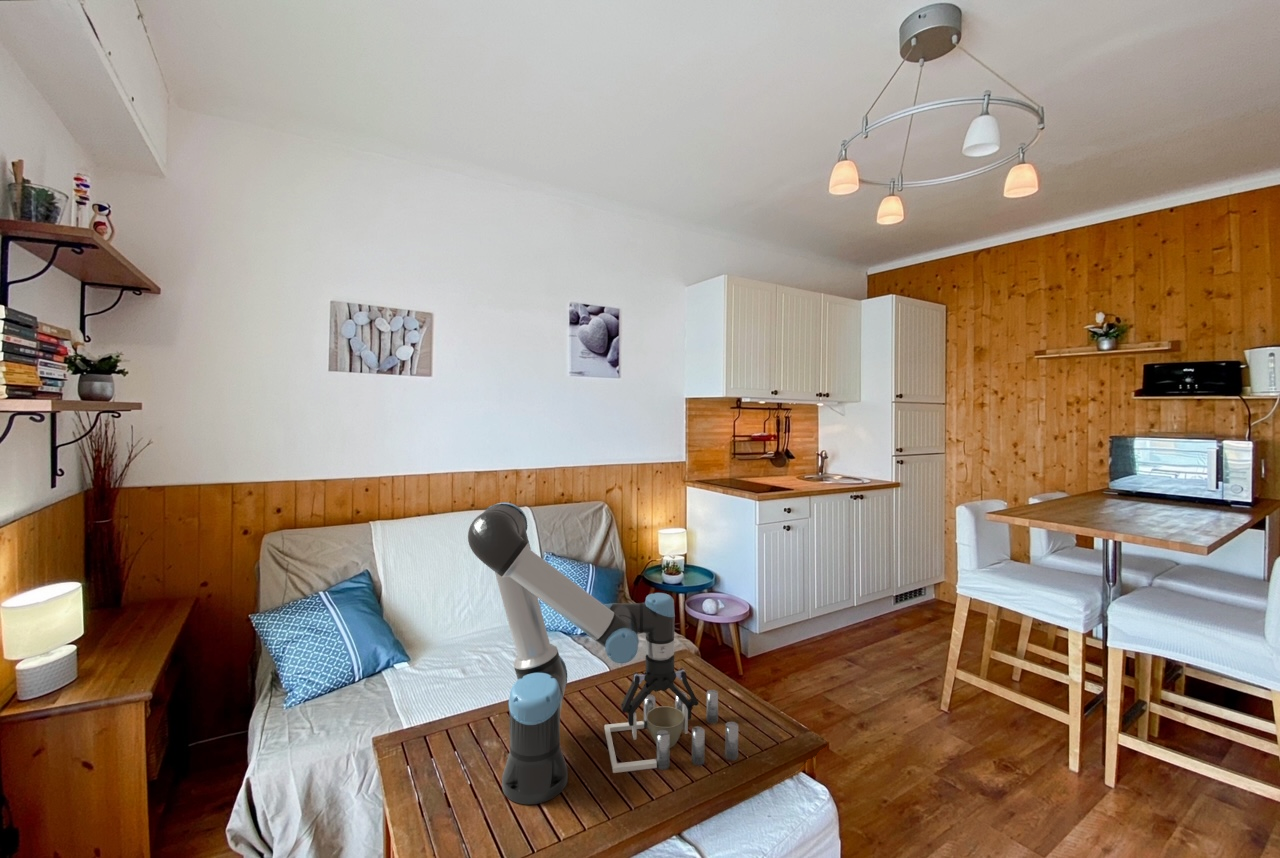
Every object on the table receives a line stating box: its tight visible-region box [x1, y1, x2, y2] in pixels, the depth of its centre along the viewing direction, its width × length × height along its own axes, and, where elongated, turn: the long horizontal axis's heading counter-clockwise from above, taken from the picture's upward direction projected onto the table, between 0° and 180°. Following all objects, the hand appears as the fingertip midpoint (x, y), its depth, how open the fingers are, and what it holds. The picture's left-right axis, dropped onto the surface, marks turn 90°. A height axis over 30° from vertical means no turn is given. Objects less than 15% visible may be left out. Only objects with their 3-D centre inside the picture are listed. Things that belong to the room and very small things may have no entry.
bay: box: [604, 720, 658, 774], centre depth 141 cm, size 11×18×1 cm, turn 10°
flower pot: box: [646, 705, 684, 749], centre depth 143 cm, size 10×10×7 cm
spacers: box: [643, 689, 739, 771], centre depth 144 cm, size 21×20×8 cm
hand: (659, 733), depth 142 cm, fingers open, 13 cm apart
